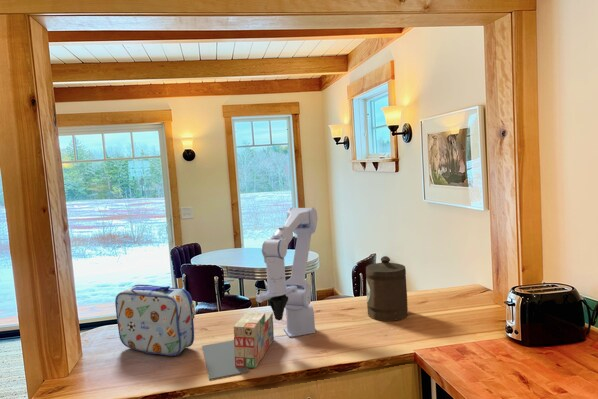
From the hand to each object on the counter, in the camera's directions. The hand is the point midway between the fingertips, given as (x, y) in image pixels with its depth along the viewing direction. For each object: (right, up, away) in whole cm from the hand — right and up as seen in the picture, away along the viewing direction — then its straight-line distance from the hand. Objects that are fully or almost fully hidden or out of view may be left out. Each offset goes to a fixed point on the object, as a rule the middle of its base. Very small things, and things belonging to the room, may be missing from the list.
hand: (278, 319), depth 140 cm
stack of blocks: (-7, -10, -1) cm, 12 cm away
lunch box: (-39, -12, +6) cm, 42 cm away
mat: (-17, -11, -4) cm, 20 cm away
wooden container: (+40, -6, +26) cm, 48 cm away
